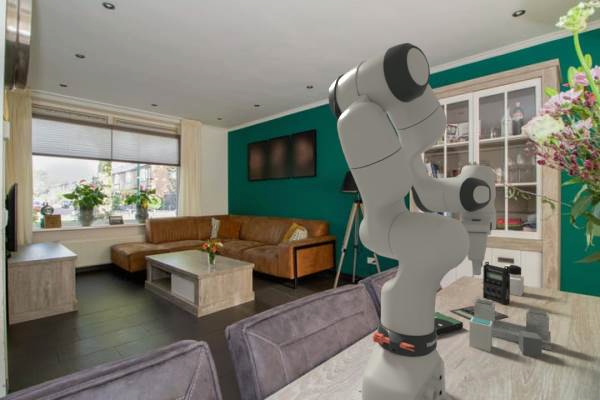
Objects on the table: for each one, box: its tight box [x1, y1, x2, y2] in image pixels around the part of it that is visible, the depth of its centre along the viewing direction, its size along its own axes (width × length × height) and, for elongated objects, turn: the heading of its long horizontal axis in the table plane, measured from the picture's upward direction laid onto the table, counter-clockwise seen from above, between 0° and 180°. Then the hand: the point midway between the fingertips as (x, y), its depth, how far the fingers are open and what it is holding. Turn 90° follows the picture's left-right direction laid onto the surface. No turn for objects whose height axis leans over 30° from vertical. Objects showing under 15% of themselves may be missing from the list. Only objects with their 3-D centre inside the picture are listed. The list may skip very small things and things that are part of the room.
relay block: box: [518, 331, 543, 359], centre depth 81 cm, size 4×4×5 cm
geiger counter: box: [482, 261, 511, 306], centre depth 121 cm, size 10×4×15 cm, turn 21°
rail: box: [473, 298, 552, 351], centre depth 90 cm, size 6×19×9 cm, turn 51°
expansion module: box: [468, 317, 493, 353], centre depth 84 cm, size 4×5×7 cm
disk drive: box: [434, 311, 464, 337], centre depth 97 cm, size 10×3×15 cm
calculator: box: [449, 305, 509, 321], centre depth 107 cm, size 12×1×15 cm
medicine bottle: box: [504, 264, 525, 297], centre depth 131 cm, size 7×7×12 cm
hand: (478, 270), depth 85 cm, fingers open, 8 cm apart
